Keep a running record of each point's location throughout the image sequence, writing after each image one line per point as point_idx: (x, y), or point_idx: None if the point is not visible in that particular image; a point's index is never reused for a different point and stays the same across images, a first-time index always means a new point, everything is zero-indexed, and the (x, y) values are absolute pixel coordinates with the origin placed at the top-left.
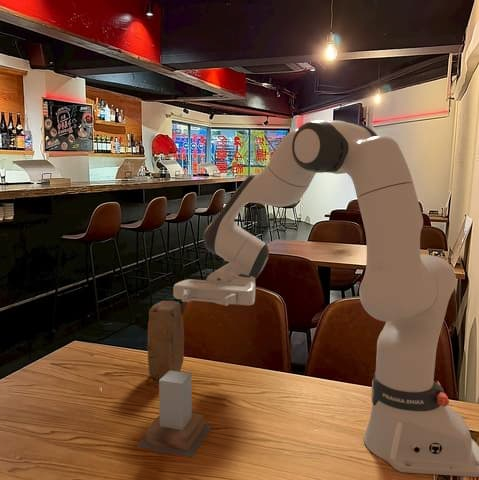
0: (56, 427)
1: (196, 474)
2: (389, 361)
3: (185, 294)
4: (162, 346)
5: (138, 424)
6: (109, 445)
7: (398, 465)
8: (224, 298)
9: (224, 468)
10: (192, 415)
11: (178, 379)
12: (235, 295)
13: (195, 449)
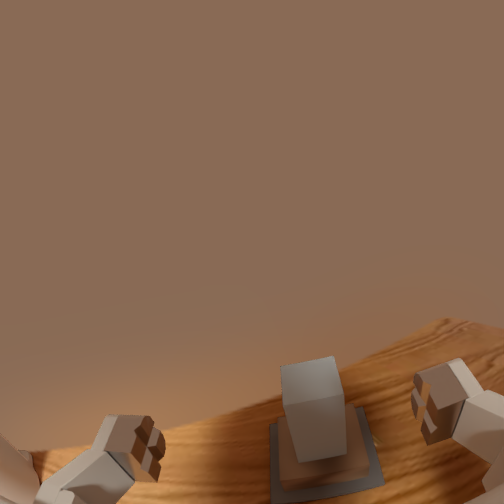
0: (497, 371)
1: (251, 406)
2: None
3: (443, 368)
4: None
5: (409, 448)
6: (402, 393)
7: (27, 452)
8: (121, 416)
9: (219, 426)
10: (300, 469)
11: (297, 374)
12: (47, 486)
13: (271, 438)
